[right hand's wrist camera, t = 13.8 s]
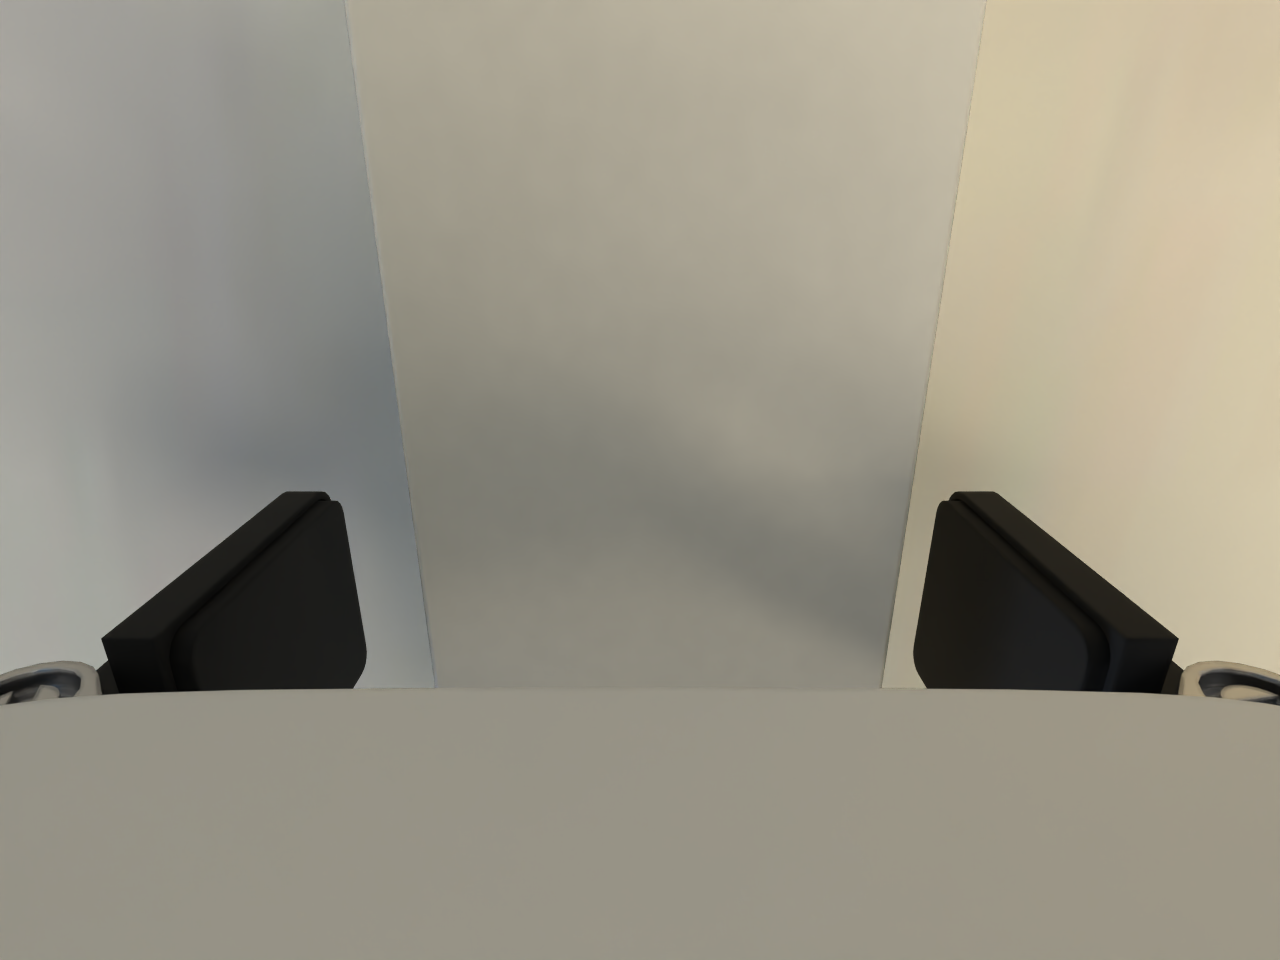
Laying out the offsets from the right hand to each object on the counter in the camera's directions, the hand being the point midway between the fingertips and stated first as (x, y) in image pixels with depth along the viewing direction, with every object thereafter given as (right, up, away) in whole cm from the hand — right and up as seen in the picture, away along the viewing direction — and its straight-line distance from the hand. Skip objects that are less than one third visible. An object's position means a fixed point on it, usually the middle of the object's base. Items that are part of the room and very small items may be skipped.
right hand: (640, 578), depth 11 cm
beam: (0, +23, -5) cm, 24 cm away
